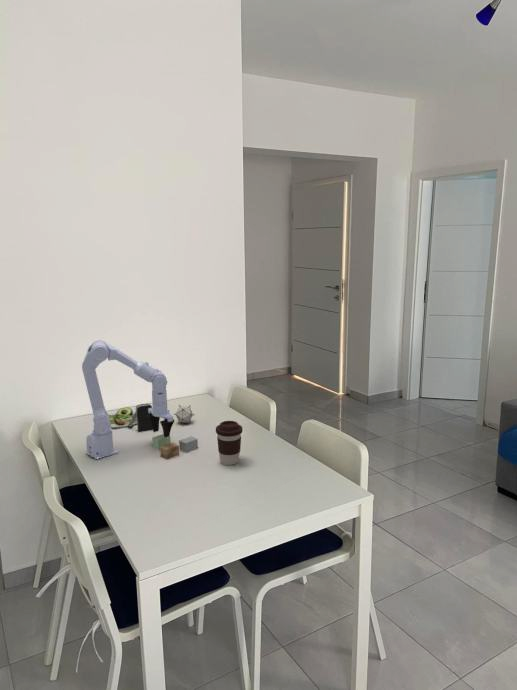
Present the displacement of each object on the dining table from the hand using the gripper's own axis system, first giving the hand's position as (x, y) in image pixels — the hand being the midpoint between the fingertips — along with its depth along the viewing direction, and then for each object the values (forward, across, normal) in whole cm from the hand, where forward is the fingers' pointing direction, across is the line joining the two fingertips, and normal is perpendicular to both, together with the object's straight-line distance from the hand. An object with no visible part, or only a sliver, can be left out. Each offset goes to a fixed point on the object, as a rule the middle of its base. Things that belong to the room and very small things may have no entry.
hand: (161, 433), depth 212 cm
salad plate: (+6, +36, -3) cm, 37 cm away
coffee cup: (+5, -30, -10) cm, 32 cm away
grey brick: (+5, -10, -6) cm, 13 cm away
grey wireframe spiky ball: (+5, +14, -22) cm, 27 cm away
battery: (+5, +20, -5) cm, 21 cm away
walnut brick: (+5, -10, +3) cm, 12 cm away
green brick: (+5, 0, 0) cm, 5 cm away
